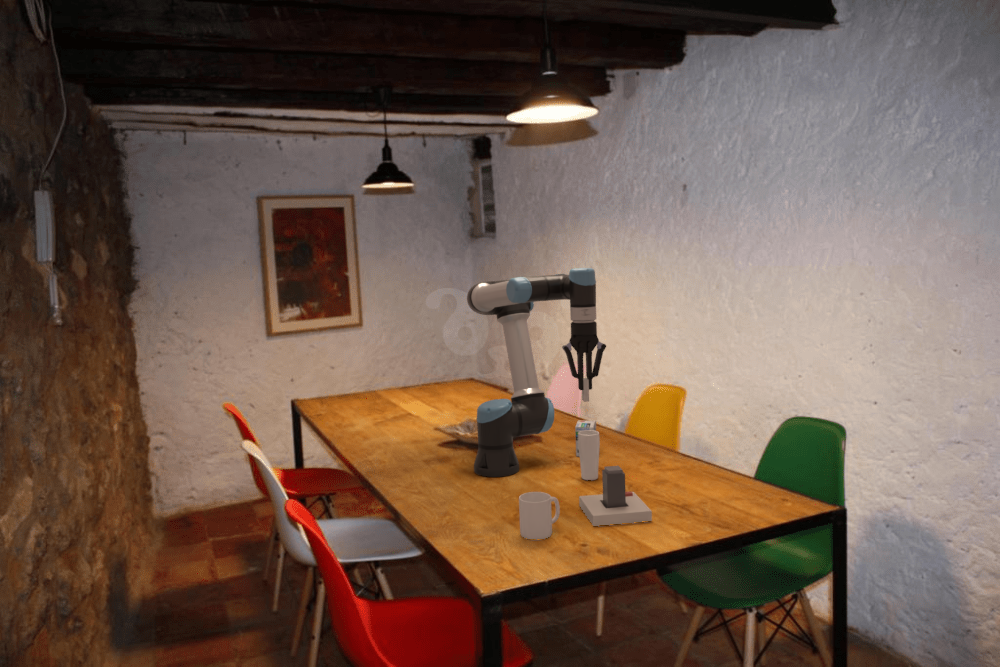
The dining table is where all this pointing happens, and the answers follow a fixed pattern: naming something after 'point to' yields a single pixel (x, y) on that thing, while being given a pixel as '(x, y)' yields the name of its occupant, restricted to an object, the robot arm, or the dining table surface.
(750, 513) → the dining table surface
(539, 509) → the cup
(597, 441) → the drinking glass
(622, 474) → the plug
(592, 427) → the light bulb box
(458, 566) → the dining table surface
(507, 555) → the dining table surface
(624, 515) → the socket
